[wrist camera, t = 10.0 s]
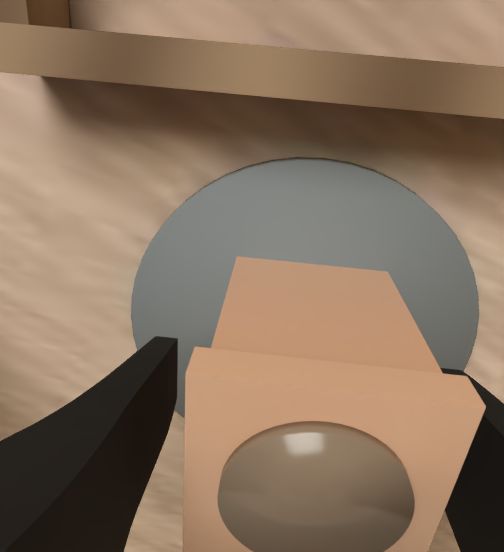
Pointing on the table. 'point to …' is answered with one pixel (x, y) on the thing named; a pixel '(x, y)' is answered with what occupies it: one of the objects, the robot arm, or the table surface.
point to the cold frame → (239, 66)
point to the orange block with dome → (319, 418)
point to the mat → (303, 251)
